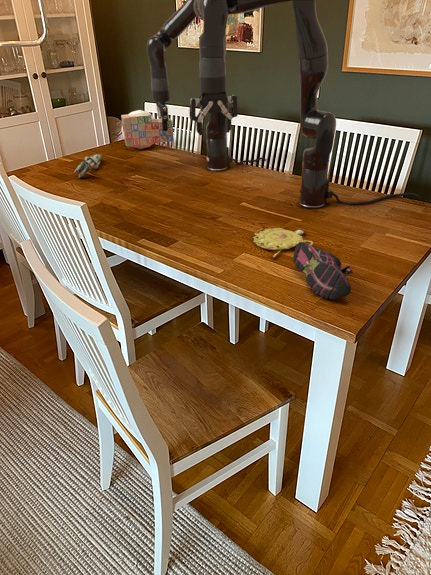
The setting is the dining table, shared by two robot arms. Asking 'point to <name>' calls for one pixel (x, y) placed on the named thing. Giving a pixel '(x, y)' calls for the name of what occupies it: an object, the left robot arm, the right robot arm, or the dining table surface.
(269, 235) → the decorative object
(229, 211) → the dining table surface
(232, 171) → the dining table surface
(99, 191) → the dining table surface
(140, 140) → the stack of blocks
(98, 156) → the figurine
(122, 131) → the sphere
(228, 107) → the left robot arm
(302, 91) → the right robot arm
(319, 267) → the athletic shoe
